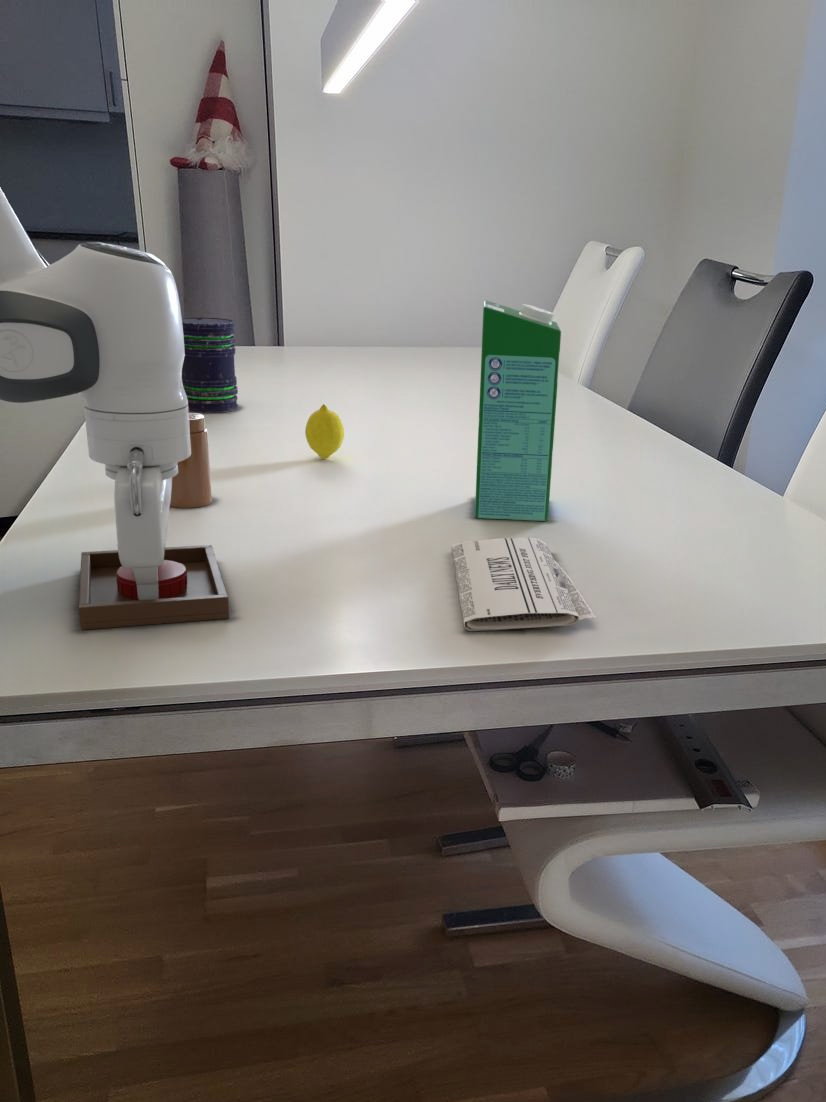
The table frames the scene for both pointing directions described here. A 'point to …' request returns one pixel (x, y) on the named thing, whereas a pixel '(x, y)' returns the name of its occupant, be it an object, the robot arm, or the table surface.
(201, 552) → the tray
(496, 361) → the milk carton
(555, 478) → the table surface
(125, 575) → the lid
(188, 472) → the jar
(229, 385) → the dark purple barrel
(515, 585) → the newspaper
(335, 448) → the fruit
